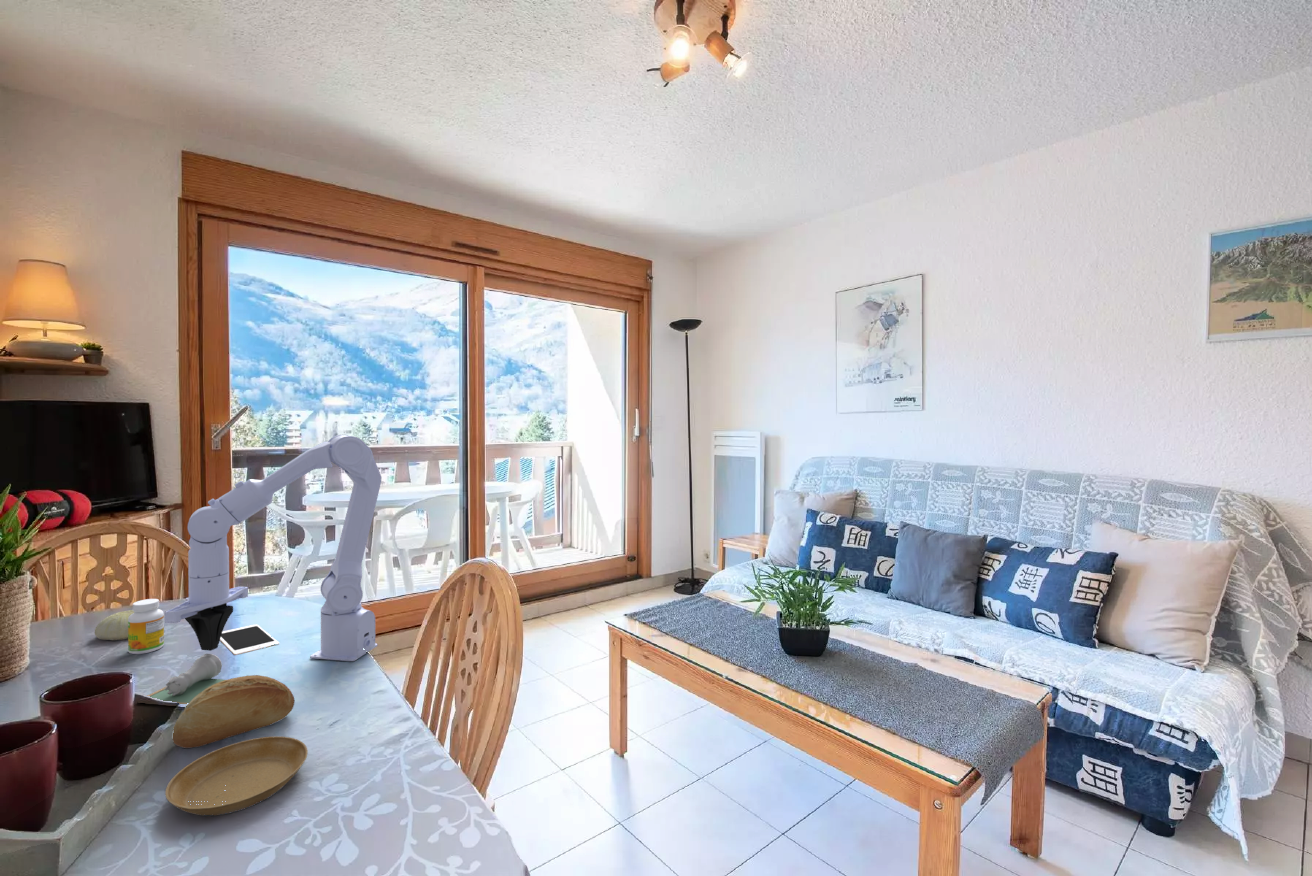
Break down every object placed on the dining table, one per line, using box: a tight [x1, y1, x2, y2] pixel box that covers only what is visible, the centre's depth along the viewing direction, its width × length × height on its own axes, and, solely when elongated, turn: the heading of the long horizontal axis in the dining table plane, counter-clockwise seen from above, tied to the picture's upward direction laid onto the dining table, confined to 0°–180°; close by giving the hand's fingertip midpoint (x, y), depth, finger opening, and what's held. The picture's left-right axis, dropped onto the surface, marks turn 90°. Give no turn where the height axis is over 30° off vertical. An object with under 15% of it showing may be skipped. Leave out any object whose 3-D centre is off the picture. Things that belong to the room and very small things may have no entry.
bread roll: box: [172, 674, 296, 749], centre depth 85 cm, size 10×15×8 cm, turn 134°
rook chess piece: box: [164, 653, 223, 696], centre depth 98 cm, size 4×4×8 cm
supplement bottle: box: [127, 598, 165, 655], centre depth 114 cm, size 5×5×10 cm
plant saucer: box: [164, 736, 309, 816], centre depth 73 cm, size 15×15×3 cm
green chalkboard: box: [146, 678, 225, 704], centre depth 97 cm, size 12×9×1 cm
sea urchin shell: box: [94, 609, 134, 641], centre depth 122 cm, size 9×8×8 cm
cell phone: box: [219, 623, 280, 656], centre depth 120 cm, size 8×16×1 cm, turn 50°
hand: (209, 648), depth 102 cm, fingers closed
